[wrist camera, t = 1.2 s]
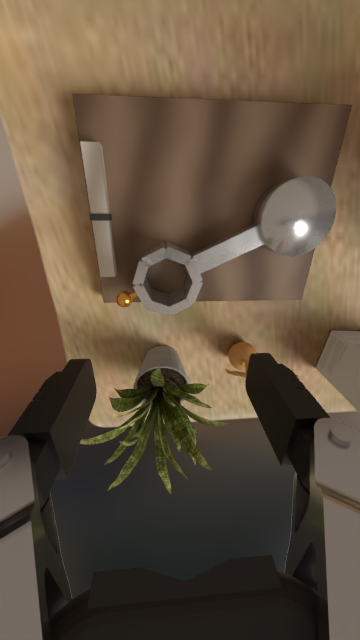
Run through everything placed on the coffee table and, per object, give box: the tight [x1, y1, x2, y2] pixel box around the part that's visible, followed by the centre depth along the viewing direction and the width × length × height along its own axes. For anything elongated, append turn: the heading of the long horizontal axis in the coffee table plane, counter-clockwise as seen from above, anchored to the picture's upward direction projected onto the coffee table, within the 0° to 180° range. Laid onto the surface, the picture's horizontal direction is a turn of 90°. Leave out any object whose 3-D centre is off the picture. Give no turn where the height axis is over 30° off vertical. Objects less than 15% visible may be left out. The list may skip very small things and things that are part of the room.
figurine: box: [226, 342, 299, 378], centre depth 28 cm, size 8×6×12 cm
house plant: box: [80, 345, 227, 493], centre depth 27 cm, size 14×14×16 cm
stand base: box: [73, 94, 352, 303], centre depth 24 cm, size 25×19×3 cm
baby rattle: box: [116, 176, 336, 315], centre depth 23 cm, size 24×7×4 cm, turn 114°
